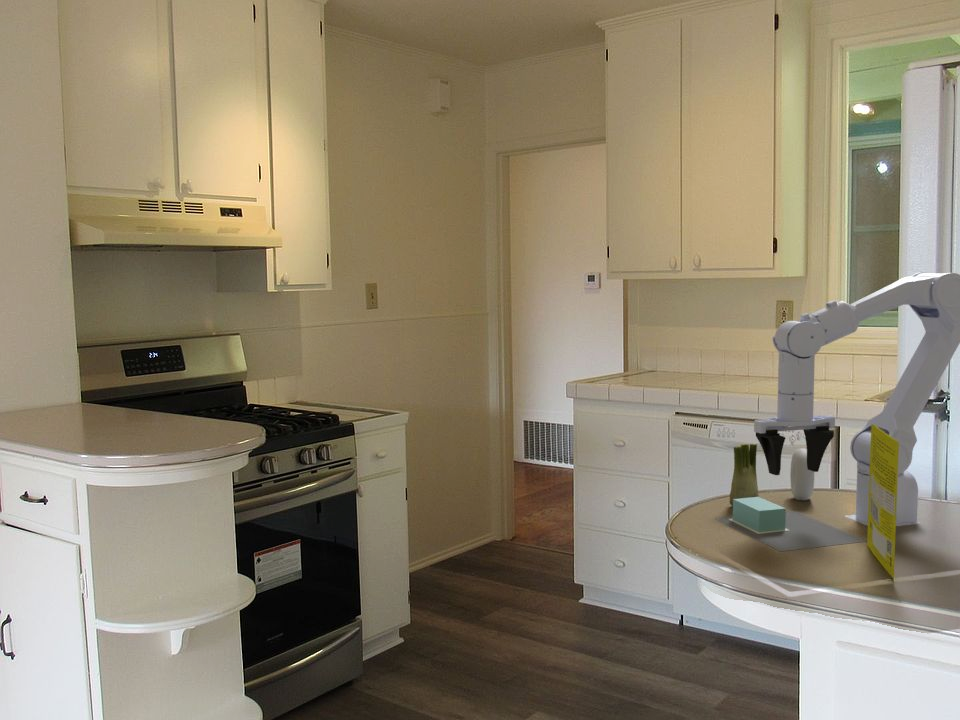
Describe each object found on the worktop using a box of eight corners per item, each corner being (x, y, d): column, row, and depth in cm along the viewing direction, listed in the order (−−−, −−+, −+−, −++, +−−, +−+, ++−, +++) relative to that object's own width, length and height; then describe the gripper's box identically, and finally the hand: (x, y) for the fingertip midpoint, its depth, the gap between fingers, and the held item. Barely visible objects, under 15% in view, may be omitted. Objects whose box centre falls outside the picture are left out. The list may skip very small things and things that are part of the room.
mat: (794, 514, 164) (794, 510, 163) (867, 544, 145) (867, 540, 145) (714, 522, 159) (714, 518, 159) (780, 555, 141) (780, 551, 141)
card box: (785, 529, 152) (785, 508, 152) (758, 532, 151) (759, 511, 150) (757, 516, 160) (758, 496, 159) (732, 519, 158) (732, 499, 158)
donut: (815, 507, 167) (816, 454, 166) (795, 507, 168) (796, 453, 167) (807, 494, 177) (808, 443, 176) (788, 493, 178) (789, 443, 177)
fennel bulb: (753, 503, 171) (754, 440, 170) (765, 510, 166) (766, 445, 165) (723, 505, 170) (724, 441, 169) (734, 512, 165) (735, 447, 164)
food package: (897, 583, 128) (902, 442, 126) (889, 582, 128) (894, 442, 126) (870, 549, 143) (875, 423, 141) (863, 549, 143) (867, 423, 141)
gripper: (817, 387, 159) (815, 464, 161) (744, 391, 155) (742, 470, 157) (844, 392, 153) (841, 472, 154) (768, 397, 149) (767, 479, 150)
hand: (793, 472), depth 155 cm, fingers open, 7 cm apart
